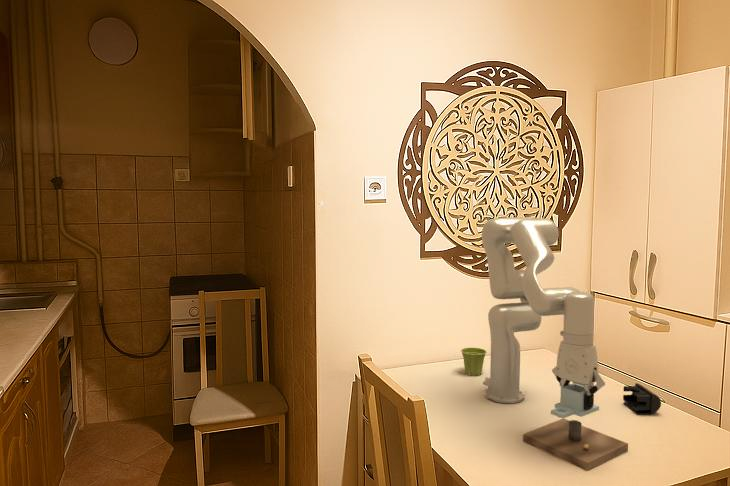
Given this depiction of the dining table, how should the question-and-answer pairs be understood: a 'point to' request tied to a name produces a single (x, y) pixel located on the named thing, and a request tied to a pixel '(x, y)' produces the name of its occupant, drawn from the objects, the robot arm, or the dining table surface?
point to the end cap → (641, 400)
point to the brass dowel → (586, 446)
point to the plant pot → (473, 360)
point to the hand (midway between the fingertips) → (577, 403)
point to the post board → (575, 443)
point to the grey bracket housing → (572, 402)
